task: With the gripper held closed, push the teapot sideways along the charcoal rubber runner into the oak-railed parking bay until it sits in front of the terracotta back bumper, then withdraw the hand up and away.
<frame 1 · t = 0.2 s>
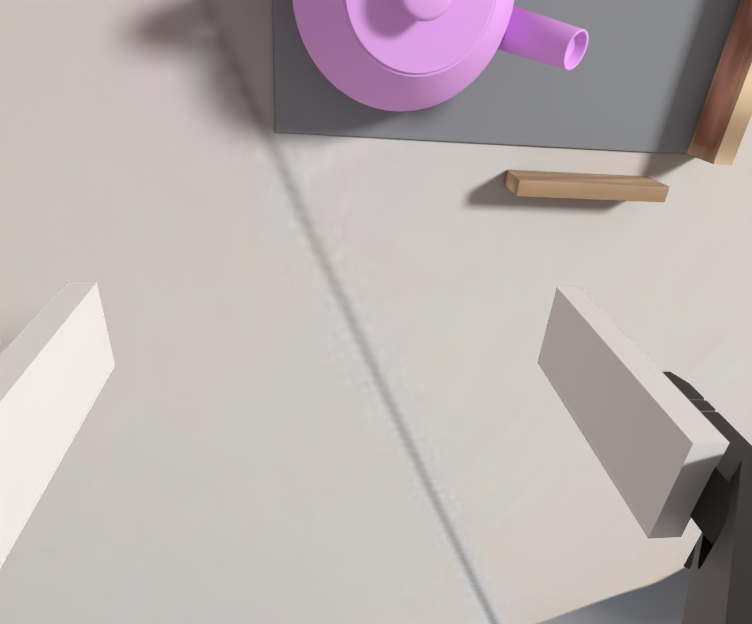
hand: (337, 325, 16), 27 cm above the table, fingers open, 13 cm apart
bay: (632, 18, 37), on the table
runner: (523, 9, 36), on the table
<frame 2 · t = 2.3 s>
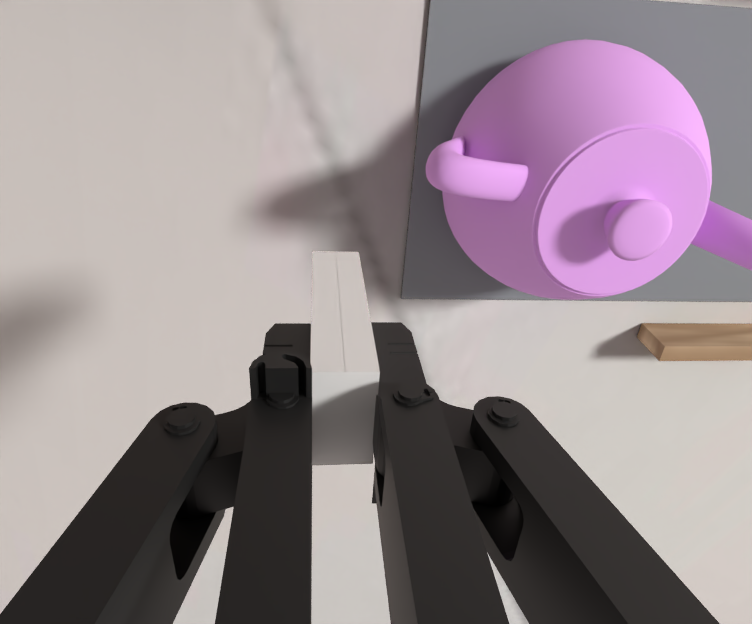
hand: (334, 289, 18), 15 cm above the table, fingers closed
runner: (682, 173, 33), on the table
teapot: (559, 168, 32), resting on runner
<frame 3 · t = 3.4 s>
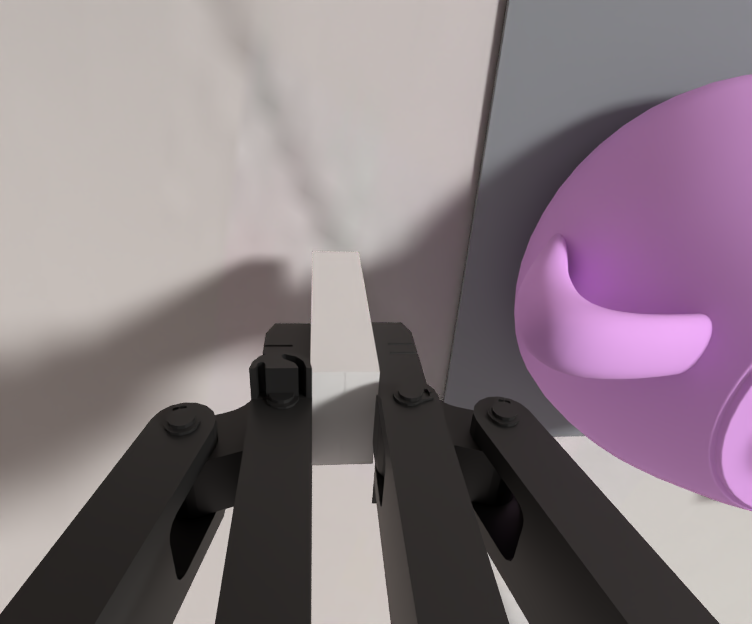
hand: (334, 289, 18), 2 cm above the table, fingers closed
teapot: (686, 262, 21), resting on runner
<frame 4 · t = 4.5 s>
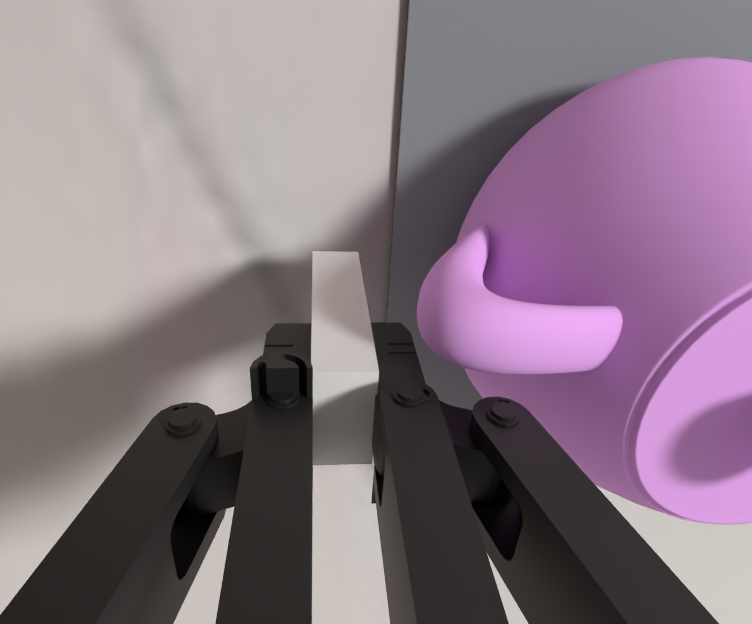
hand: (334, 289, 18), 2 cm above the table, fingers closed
teapot: (632, 257, 20), resting on runner
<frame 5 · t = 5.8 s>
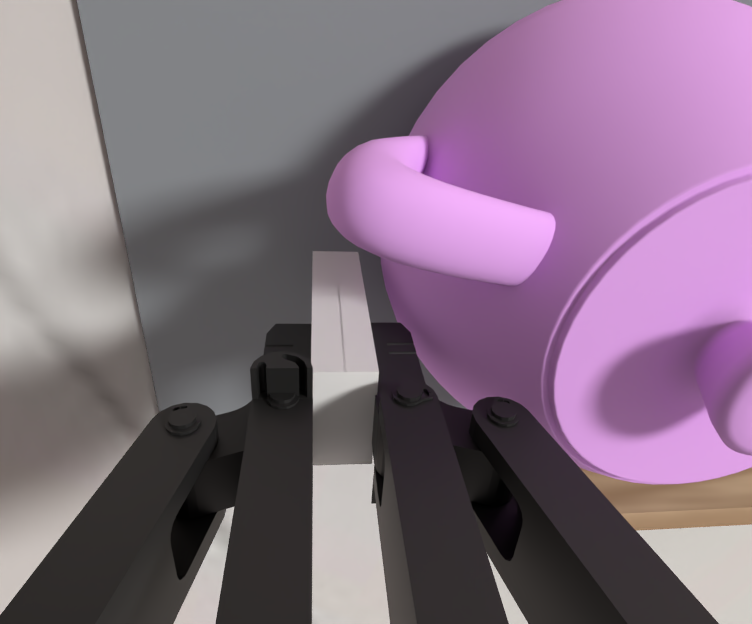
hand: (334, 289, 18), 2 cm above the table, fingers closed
runner: (593, 257, 20), on the table
teapot: (581, 219, 19), resting on runner, touching gripper
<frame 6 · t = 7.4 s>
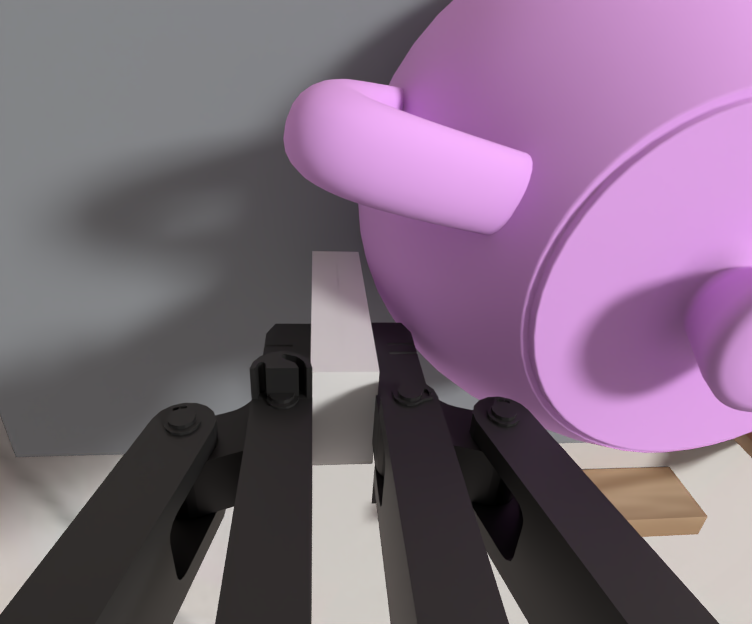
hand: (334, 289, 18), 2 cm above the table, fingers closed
bay: (644, 265, 21), on the table
runner: (442, 262, 20), on the table
teapot: (571, 187, 19), resting on runner, touching gripper
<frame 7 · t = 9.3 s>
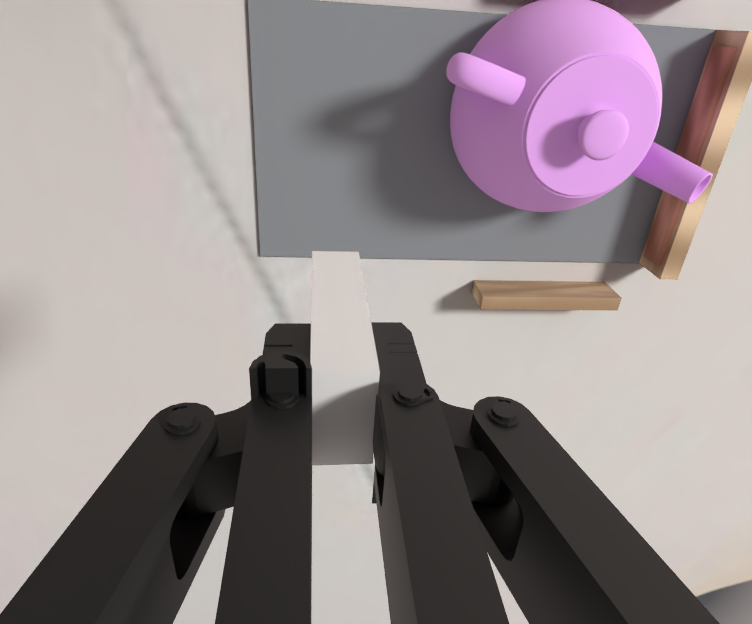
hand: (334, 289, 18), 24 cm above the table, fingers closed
bay: (582, 154, 41), on the table
runner: (482, 149, 40), on the table
teapot: (545, 111, 39), resting on runner
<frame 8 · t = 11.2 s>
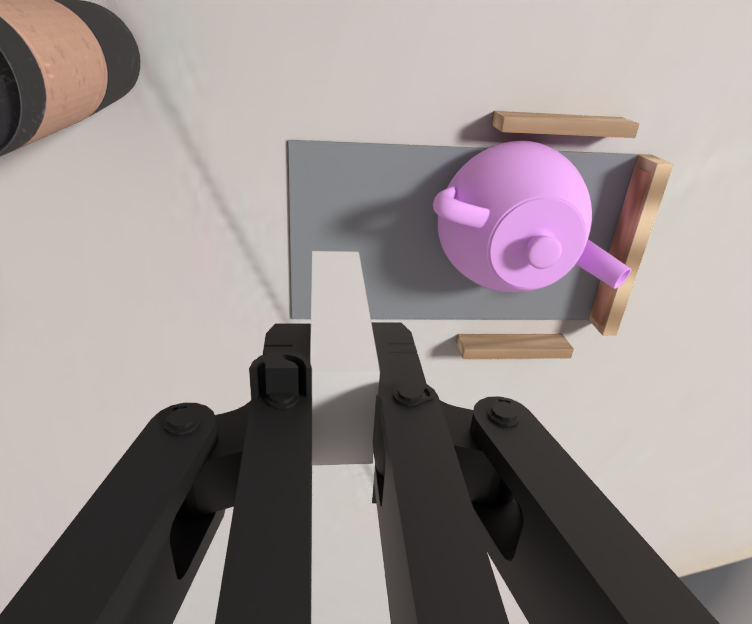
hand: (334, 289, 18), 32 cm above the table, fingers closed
bay: (540, 241, 53), on the table
runner: (463, 240, 53), on the table
travel mug: (94, 53, 42), on the table
teapot: (510, 212, 52), resting on runner
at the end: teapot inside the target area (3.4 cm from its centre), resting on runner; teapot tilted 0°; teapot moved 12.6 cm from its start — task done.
